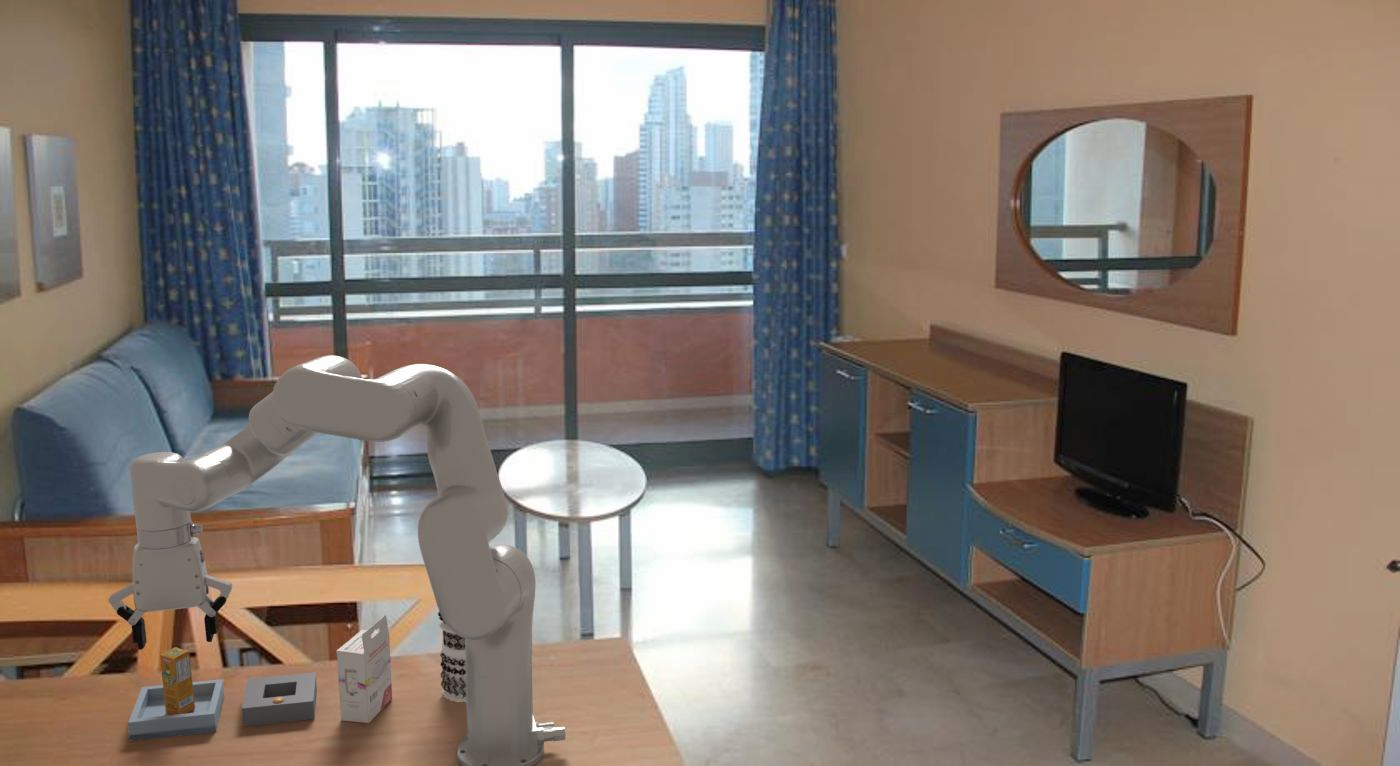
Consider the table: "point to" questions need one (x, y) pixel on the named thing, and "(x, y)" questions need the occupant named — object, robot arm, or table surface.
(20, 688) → the table surface
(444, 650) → the decorative candle
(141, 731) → the holder and tray
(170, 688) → the supplement box
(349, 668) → the ink cartridge box
